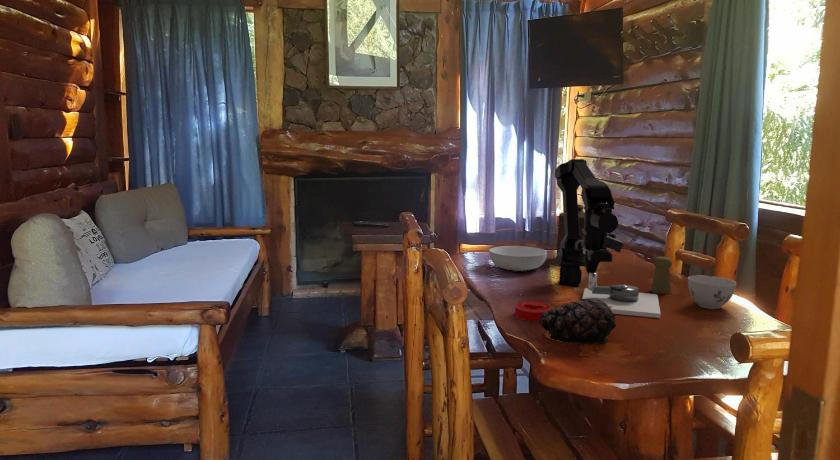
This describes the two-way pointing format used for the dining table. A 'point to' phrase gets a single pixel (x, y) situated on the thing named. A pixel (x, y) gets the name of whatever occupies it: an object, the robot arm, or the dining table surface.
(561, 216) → the wooden container
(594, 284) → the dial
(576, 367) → the dining table surface
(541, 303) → the decorative ornament
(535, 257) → the serving bowl
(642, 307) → the stand board
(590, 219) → the robot arm
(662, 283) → the cork
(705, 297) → the teacup
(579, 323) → the pine cone
